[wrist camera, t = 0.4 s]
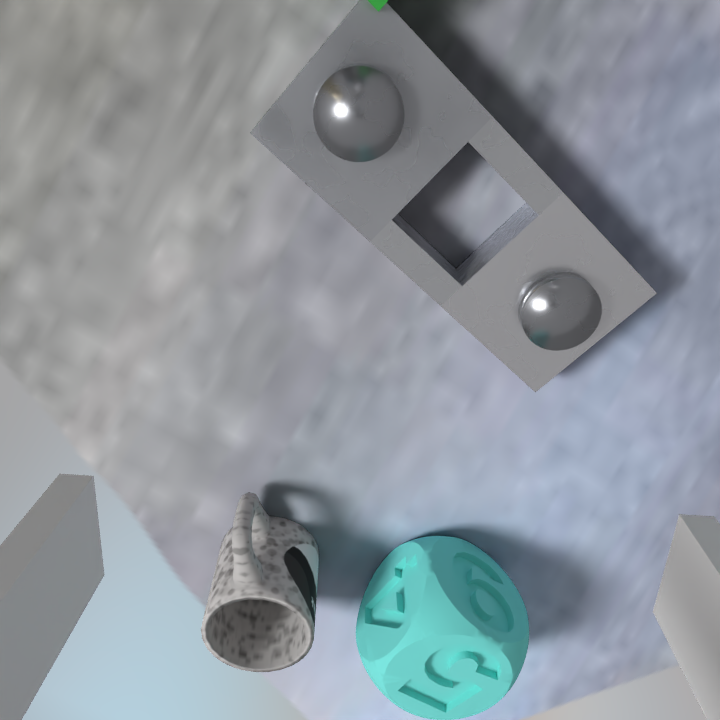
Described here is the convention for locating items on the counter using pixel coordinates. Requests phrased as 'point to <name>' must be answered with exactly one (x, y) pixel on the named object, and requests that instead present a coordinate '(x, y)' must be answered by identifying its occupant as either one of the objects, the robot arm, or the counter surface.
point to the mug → (262, 592)
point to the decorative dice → (442, 629)
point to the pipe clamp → (378, 4)
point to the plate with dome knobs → (419, 165)
